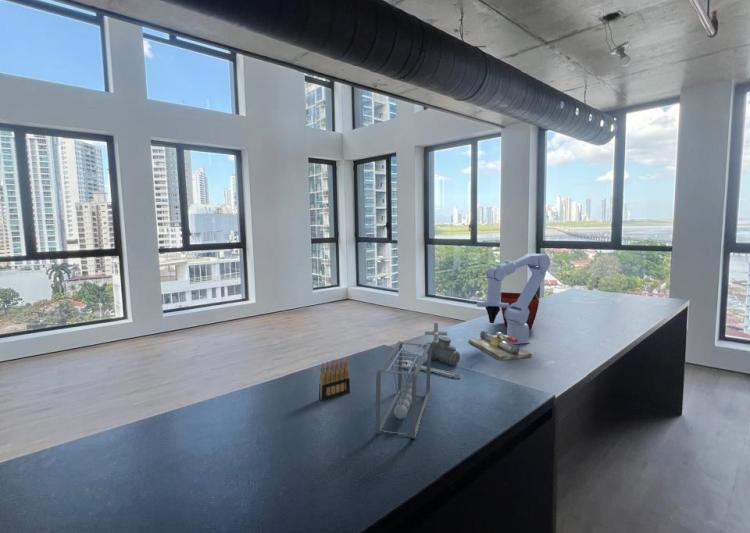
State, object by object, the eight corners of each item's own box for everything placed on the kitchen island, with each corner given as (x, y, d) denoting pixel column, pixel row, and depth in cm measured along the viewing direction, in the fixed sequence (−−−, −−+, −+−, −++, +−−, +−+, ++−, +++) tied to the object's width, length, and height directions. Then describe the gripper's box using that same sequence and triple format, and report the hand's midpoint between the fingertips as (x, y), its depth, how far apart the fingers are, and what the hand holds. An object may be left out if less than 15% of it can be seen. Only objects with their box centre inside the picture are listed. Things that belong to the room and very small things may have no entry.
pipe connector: (445, 341, 192) (446, 320, 191) (447, 347, 182) (447, 325, 181) (424, 340, 193) (424, 319, 192) (424, 346, 183) (425, 324, 182)
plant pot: (499, 329, 215) (500, 297, 213) (499, 320, 233) (500, 291, 231) (537, 332, 209) (539, 300, 207) (534, 323, 227) (536, 293, 225)
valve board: (496, 339, 195) (496, 336, 195) (531, 357, 170) (531, 353, 170) (468, 341, 191) (468, 338, 191) (499, 360, 166) (500, 356, 166)
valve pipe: (487, 338, 193) (488, 327, 192) (519, 355, 169) (520, 342, 169) (479, 339, 192) (479, 327, 191) (510, 356, 168) (511, 343, 167)
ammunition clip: (321, 401, 126) (321, 364, 125) (318, 399, 128) (318, 362, 127) (350, 392, 133) (350, 357, 132) (346, 390, 134) (347, 355, 133)
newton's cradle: (398, 391, 135) (399, 339, 133) (429, 394, 132) (431, 341, 130) (375, 436, 106) (375, 371, 104) (414, 442, 103) (416, 375, 101)
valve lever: (494, 334, 181) (495, 331, 180) (499, 334, 181) (499, 331, 181) (512, 342, 169) (512, 339, 168) (517, 342, 169) (517, 339, 169)
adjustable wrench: (461, 378, 147) (462, 373, 147) (453, 384, 142) (454, 379, 142) (404, 362, 163) (404, 358, 162) (395, 367, 157) (395, 363, 157)
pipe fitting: (424, 359, 164) (429, 335, 163) (437, 356, 170) (441, 333, 168) (448, 371, 156) (452, 345, 154) (460, 367, 161) (465, 343, 160)
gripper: (481, 294, 179) (479, 324, 181) (512, 295, 181) (510, 325, 182) (476, 291, 186) (473, 320, 188) (506, 292, 188) (504, 321, 189)
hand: (491, 322), depth 185 cm, fingers closed
